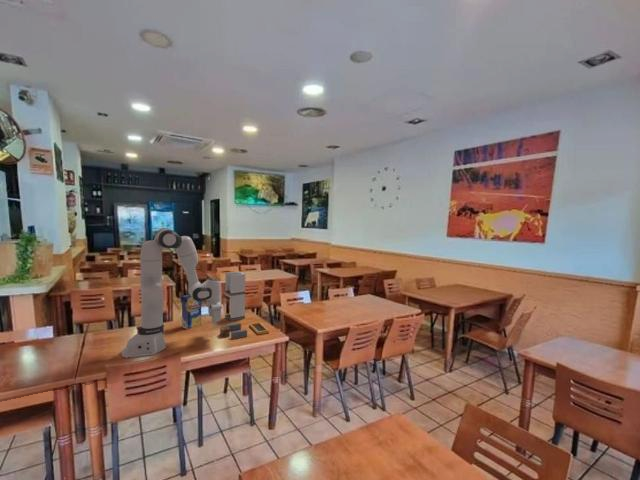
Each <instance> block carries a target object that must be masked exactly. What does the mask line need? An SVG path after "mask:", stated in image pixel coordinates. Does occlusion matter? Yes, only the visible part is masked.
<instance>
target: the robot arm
mask: <svg viewBox="0 0 640 480" xmlns="http://www.w3.org/2000/svg"><path fill="white" fill-rule="evenodd" d="M164 249H168V250H169V249H174V251H176V255H177V258H178V261H179V264H180V265H181V267H182V269H183V270H184V273H185V277H186V280H187V295H189V296H191V297H192V298H193V299H194V300H196V301H201V302H203V301H206V307H207V310H208V314H209V316H210V317H211V321H212V325H214V326H216V325H217V322H221V319H222V308H223V306H222V297H221V292H222V290H221V281H220V280H218V279H217V278H212V277H211V278H207V279H206V280H205V281H204V282H202V283H201V282H200V281H199V277H198V273H197V270H196V267H197V265H198V263H199V255H198V251H197V249H196V245H195V243H194V242H193V239H192V238H191V237H190V236H188V235H182V236H181V235H179V234H178V233H177V232H176V231H174V230H173V229H171V228H159V230H158V231H157V232H156V233H155V235H154V236H153V238H152V240H146V241H144V242H143V243H142V244H141V248H140V257H139V261H140V264H139V265H140V267H139V268H140V297H141V299H140V301H141V302H140V303H141V305H140V306H141V307H140V308H141V310H140V311H141V312H140V313H141V316H140V317H141V318H140V321H141V323H140V324H141V325H136V330H137V331H136V334H134V335H133V336H131V338H129V339H128V341H127V343H126V345H125V346H126V347H124V348H123V349H122V350H121V353H120V354H121V357H122V356H123V358H124V357H125V359H126V358H127V359H128V357H129V358H137V357H146V356H153V355H157V353H159V352H161V351H163V350H165V349H166V347H167V345H166V342H165V337H164V333H165V326H164V322H163V321H164V315H163V312H164V311H163V310H164V291H163V288H162V287H163V286H162V283H163V282H162V281H163V251H164Z"/></svg>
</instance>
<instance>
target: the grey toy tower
mask: <svg viewBox="0 0 640 480" xmlns="http://www.w3.org/2000/svg"><path fill="white" fill-rule="evenodd" d="M224 279H225V281H224V282H225V284H224V285H225V286H224V287H225V289H224V291H225V293H224V294H225V296H226V297H228V298H229V309H230V310H229V311H230V312H229V313H228V314H225V315H224V318H226V319H227V320H228V319H229V320H228V321H230V322H234V321H238V320H245V317H246V273H244V272H241V271H233V272H225V278H224Z"/></svg>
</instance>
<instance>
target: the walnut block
mask: <svg viewBox="0 0 640 480" xmlns="http://www.w3.org/2000/svg"><path fill="white" fill-rule="evenodd" d="M219 329H220V330H219V331H220V332H219V333H220V334H219V335H220V337H221V338H226V337H231V331H230V328H229V327H226V326H221V327H219Z"/></svg>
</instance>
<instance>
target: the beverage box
mask: <svg viewBox="0 0 640 480" xmlns="http://www.w3.org/2000/svg"><path fill="white" fill-rule="evenodd" d="M198 326H202V301H196V300H194V299H193V298H192V297H191V296H189V294H186V295H183V296H181V328H184V329H187V330H190V329H192V328H196V327H198Z"/></svg>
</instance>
